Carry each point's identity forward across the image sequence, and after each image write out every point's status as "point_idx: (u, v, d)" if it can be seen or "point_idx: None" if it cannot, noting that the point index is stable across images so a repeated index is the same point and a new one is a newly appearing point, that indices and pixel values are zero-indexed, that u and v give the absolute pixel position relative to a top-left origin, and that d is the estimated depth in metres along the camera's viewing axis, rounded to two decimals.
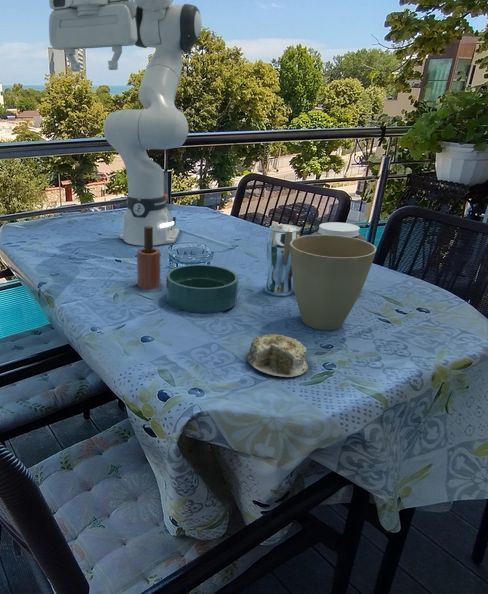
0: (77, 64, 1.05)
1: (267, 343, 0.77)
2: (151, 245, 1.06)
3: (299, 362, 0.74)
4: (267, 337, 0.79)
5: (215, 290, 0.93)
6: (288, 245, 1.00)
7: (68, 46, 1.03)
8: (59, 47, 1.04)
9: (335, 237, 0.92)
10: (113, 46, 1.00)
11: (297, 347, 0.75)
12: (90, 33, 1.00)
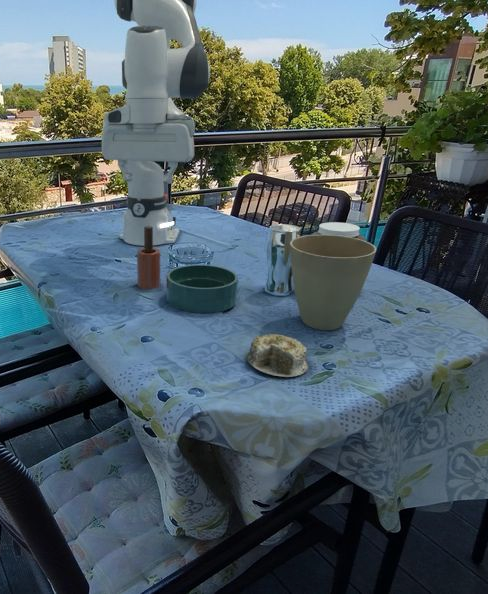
0: (129, 175, 1.02)
1: (267, 343, 0.77)
2: (151, 245, 1.06)
3: (299, 362, 0.74)
4: (267, 337, 0.79)
5: (215, 290, 0.93)
6: (288, 245, 1.00)
7: (121, 159, 1.00)
8: (112, 159, 1.01)
9: (335, 237, 0.92)
10: (169, 162, 0.97)
11: (297, 347, 0.75)
12: (146, 149, 0.97)
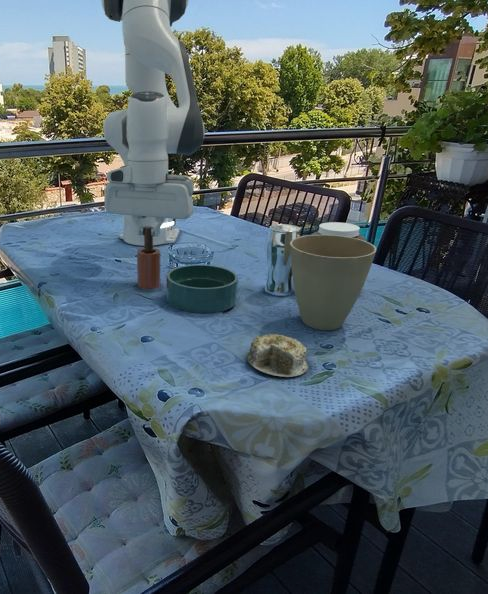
0: None
1: (267, 343, 0.77)
2: (151, 245, 1.06)
3: (299, 362, 0.74)
4: (267, 337, 0.79)
5: (215, 290, 0.93)
6: (288, 245, 1.00)
7: (123, 213, 1.04)
8: (114, 213, 1.05)
9: (335, 237, 0.92)
10: (169, 218, 1.01)
11: (297, 347, 0.75)
12: (147, 206, 1.01)
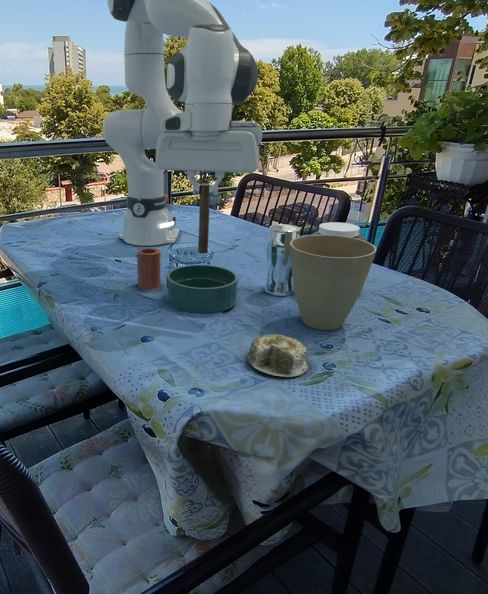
0: None
1: (267, 343, 0.77)
2: (208, 205, 0.93)
3: (299, 362, 0.74)
4: (267, 337, 0.79)
5: (215, 290, 0.93)
6: (288, 245, 1.00)
7: (177, 169, 0.92)
8: (166, 169, 0.93)
9: (335, 237, 0.92)
10: None
11: (297, 347, 0.75)
12: (206, 158, 0.89)
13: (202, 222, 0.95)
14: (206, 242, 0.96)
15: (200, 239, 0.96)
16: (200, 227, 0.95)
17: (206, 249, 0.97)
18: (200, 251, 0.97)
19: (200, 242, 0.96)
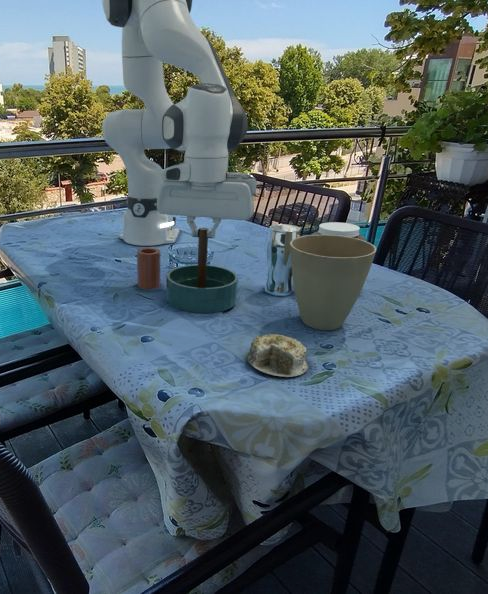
0: (198, 230, 0.99)
1: (267, 343, 0.77)
2: (206, 248, 1.00)
3: (299, 362, 0.74)
4: (267, 337, 0.79)
5: (215, 290, 0.93)
6: (288, 245, 1.00)
7: (177, 214, 0.98)
8: (167, 213, 0.99)
9: (335, 237, 0.92)
10: None
11: (297, 347, 0.75)
12: (204, 206, 0.95)
13: (200, 263, 1.01)
14: (204, 281, 1.03)
15: (199, 278, 1.02)
16: (199, 267, 1.02)
17: (204, 287, 1.03)
18: None
19: (199, 281, 1.03)
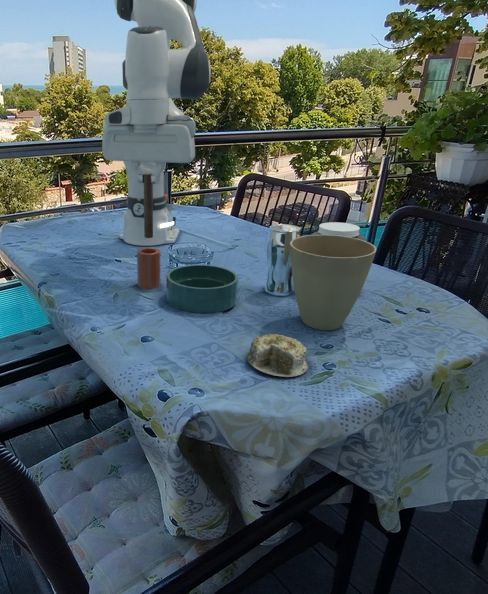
0: (143, 176, 1.01)
1: (267, 343, 0.77)
2: (151, 193, 1.01)
3: (299, 362, 0.74)
4: (267, 337, 0.79)
5: (215, 290, 0.93)
6: (288, 245, 1.00)
7: (122, 159, 1.00)
8: (112, 159, 1.01)
9: (335, 237, 0.92)
10: None
11: (297, 347, 0.75)
12: (147, 150, 0.97)
13: (146, 209, 1.03)
14: (151, 228, 1.04)
15: (145, 225, 1.04)
16: (145, 214, 1.03)
17: (151, 234, 1.05)
18: (146, 236, 1.05)
19: (145, 228, 1.04)
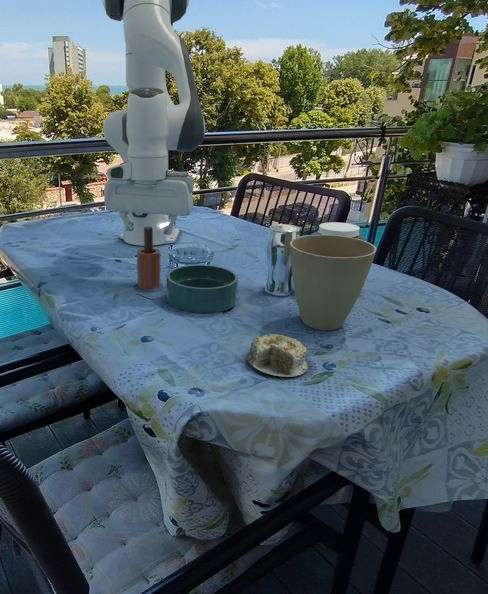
0: (131, 225, 1.06)
1: (267, 343, 0.77)
2: (151, 245, 1.06)
3: (299, 362, 0.74)
4: (267, 337, 0.79)
5: (215, 290, 0.93)
6: (288, 245, 1.00)
7: (123, 210, 1.04)
8: (114, 210, 1.05)
9: (335, 237, 0.92)
10: (169, 215, 1.01)
11: (297, 347, 0.75)
12: (147, 203, 1.01)
13: None
14: None
15: None
16: None
17: None
18: None
19: None
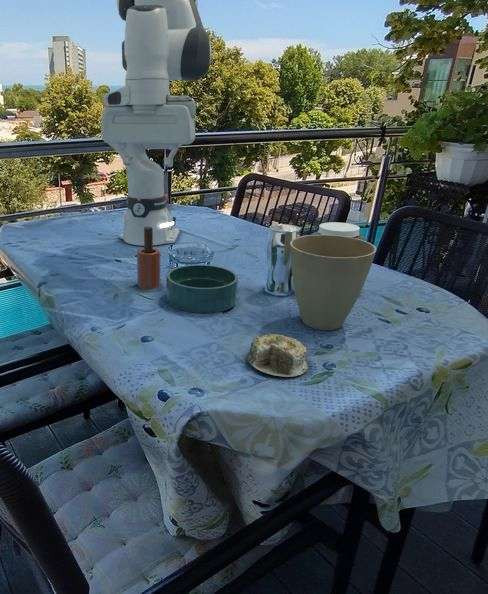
0: (129, 158, 1.01)
1: (267, 343, 0.77)
2: (151, 245, 1.06)
3: (299, 362, 0.74)
4: (267, 337, 0.79)
5: (215, 290, 0.93)
6: (288, 245, 1.00)
7: (121, 142, 0.99)
8: (111, 142, 0.99)
9: (335, 237, 0.92)
10: (170, 145, 0.95)
11: (297, 347, 0.75)
12: (146, 131, 0.96)
13: None
14: None
15: None
16: None
17: None
18: None
19: None
